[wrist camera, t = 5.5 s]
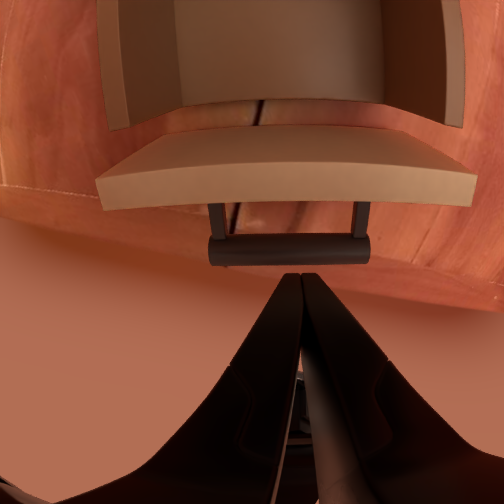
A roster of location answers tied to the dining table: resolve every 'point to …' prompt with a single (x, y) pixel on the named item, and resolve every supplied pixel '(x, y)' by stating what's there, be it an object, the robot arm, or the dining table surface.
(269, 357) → the robot arm
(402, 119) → the dining table surface
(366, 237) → the drawer
